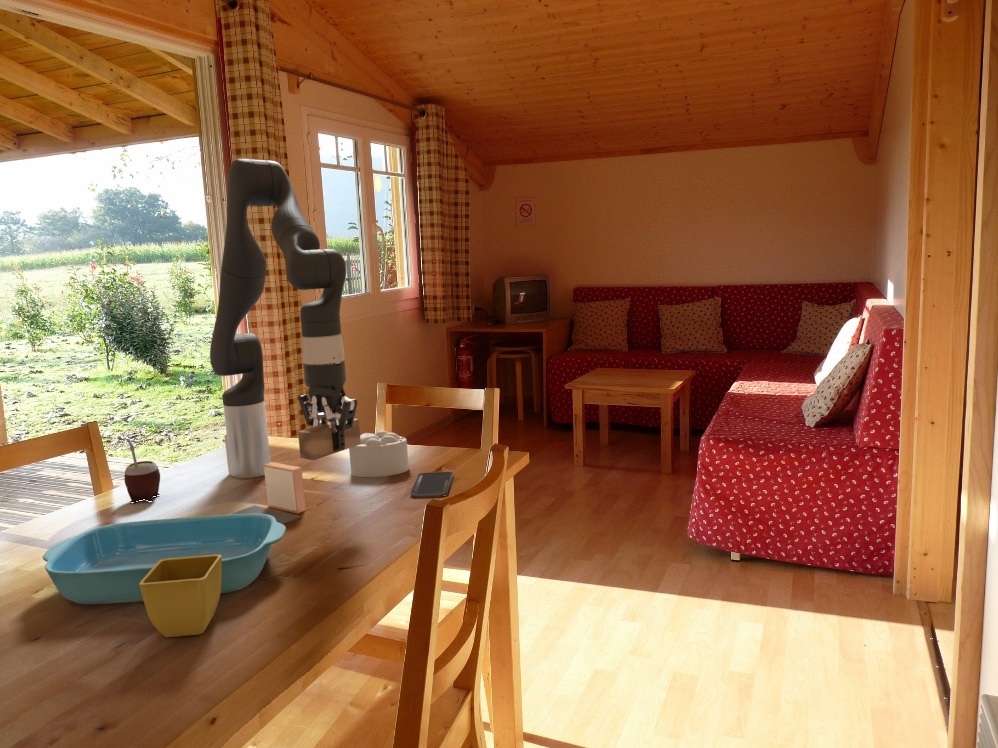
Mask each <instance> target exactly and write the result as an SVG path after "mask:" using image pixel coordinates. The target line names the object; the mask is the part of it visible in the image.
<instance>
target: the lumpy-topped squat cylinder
mask: <svg viewBox="0 0 998 748" xmlns="http://www.w3.org/2000/svg"><path fill="white" fill-rule="evenodd" d="M360 440H361V444H360V445H357V446H354V447H351V448H348V450H349V451H348V452H349V463H350V464H349V465H350V474H351V476H353V477H357V478H358V477H363V478H365V477H366V478H369V477H370V478H371V477H375V478H377V477H380V478H381V477H388V476H394V475H398V474H402V473H405V472H407V471H410V466H409V465H410V464H409V455H408V453H409V452H408V450H409V449H408V440H407V438H406V437H404V436H400V435H398V434H397V433H395V432H388V431H386V430H383V429H382V430H378V431H376V432H375V433H372V432H371V433H369V432H364V433H362V434H361V433H360Z"/></svg>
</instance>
